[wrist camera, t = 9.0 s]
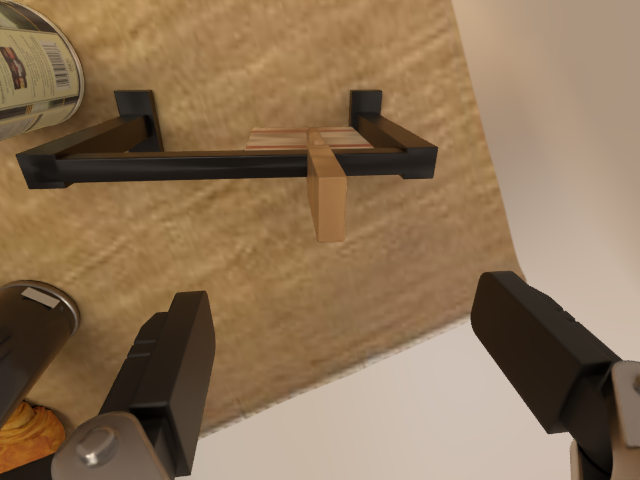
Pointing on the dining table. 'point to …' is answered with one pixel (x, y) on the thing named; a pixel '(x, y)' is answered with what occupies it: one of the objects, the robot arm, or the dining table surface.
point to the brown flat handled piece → (317, 170)
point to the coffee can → (35, 72)
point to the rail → (156, 165)
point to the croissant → (29, 436)
